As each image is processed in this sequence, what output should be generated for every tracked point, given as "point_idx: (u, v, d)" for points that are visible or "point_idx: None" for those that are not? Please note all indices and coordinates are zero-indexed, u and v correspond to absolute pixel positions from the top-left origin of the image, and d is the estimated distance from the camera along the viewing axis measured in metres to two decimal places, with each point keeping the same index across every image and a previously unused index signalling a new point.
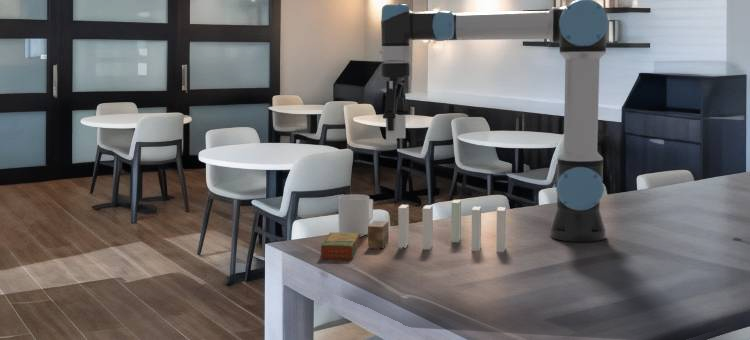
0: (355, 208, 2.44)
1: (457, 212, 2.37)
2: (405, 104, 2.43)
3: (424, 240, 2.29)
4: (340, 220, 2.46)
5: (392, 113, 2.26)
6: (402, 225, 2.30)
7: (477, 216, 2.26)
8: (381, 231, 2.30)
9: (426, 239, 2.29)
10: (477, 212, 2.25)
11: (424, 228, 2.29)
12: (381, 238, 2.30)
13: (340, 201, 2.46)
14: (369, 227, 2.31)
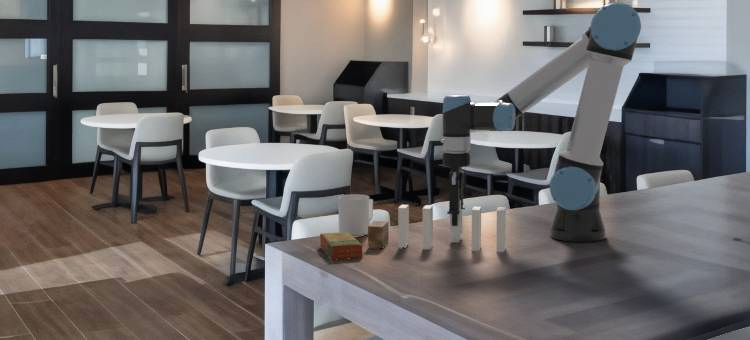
0: (355, 208, 2.44)
1: None
2: (462, 197, 2.44)
3: (424, 240, 2.29)
4: (340, 220, 2.46)
5: (457, 211, 2.33)
6: (402, 225, 2.30)
7: (477, 216, 2.26)
8: (381, 231, 2.30)
9: (426, 239, 2.29)
10: (477, 212, 2.25)
11: (424, 228, 2.29)
12: (381, 238, 2.30)
13: (340, 201, 2.46)
14: (369, 227, 2.31)
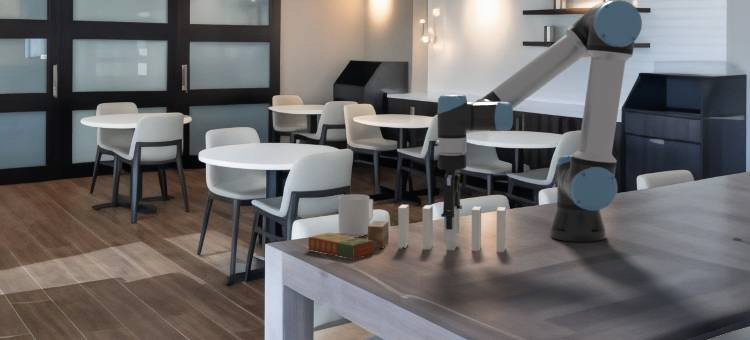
0: (355, 208, 2.44)
1: None
2: (459, 197, 2.35)
3: (424, 240, 2.29)
4: (340, 220, 2.46)
5: (451, 213, 2.21)
6: (402, 225, 2.30)
7: (477, 216, 2.26)
8: (381, 231, 2.30)
9: (426, 239, 2.29)
10: (477, 212, 2.25)
11: (424, 228, 2.29)
12: (381, 238, 2.30)
13: (340, 201, 2.46)
14: (369, 227, 2.31)
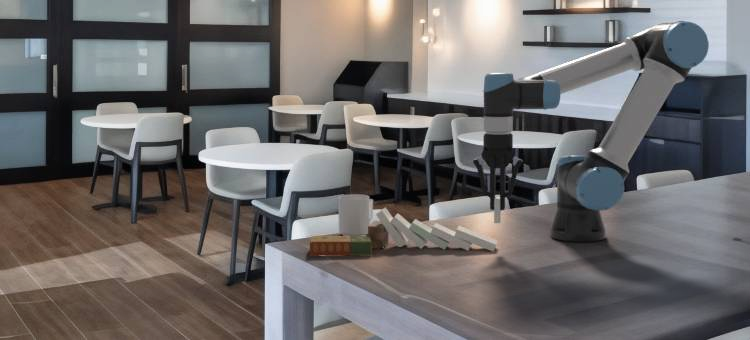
0: (355, 208, 2.44)
1: (420, 228, 2.29)
2: (509, 186, 2.24)
3: (415, 241, 2.30)
4: (340, 220, 2.46)
5: (483, 193, 2.26)
6: (388, 226, 2.31)
7: (438, 230, 2.28)
8: (381, 231, 2.30)
9: (415, 240, 2.30)
10: (434, 229, 2.28)
11: (406, 233, 2.30)
12: (381, 238, 2.30)
13: (340, 201, 2.46)
14: (369, 227, 2.31)
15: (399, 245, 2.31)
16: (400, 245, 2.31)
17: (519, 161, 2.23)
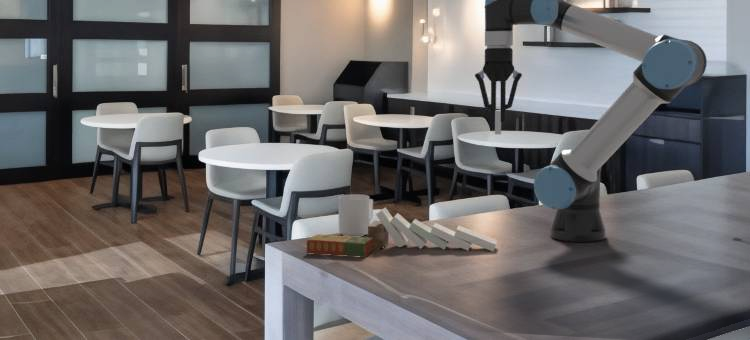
0: (355, 208, 2.44)
1: (420, 228, 2.29)
2: (509, 98, 2.35)
3: (415, 241, 2.30)
4: (340, 220, 2.46)
5: None
6: (388, 226, 2.31)
7: (438, 230, 2.28)
8: (381, 231, 2.30)
9: (415, 239, 2.30)
10: (434, 229, 2.28)
11: (406, 233, 2.30)
12: (381, 238, 2.30)
13: (340, 201, 2.46)
14: (369, 227, 2.31)
15: (399, 245, 2.31)
16: (400, 245, 2.31)
17: (519, 74, 2.34)
